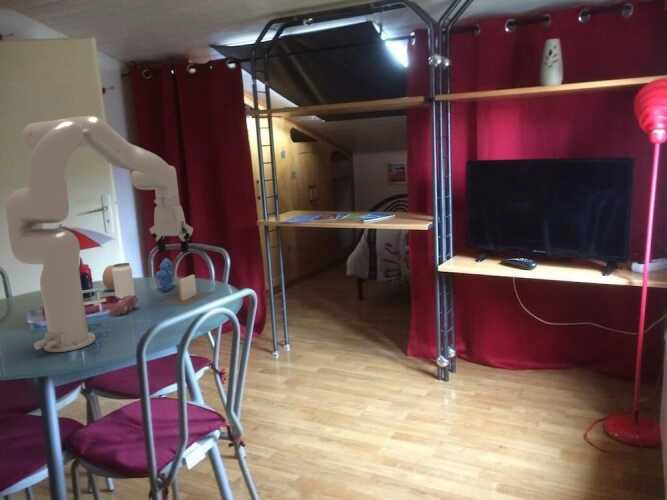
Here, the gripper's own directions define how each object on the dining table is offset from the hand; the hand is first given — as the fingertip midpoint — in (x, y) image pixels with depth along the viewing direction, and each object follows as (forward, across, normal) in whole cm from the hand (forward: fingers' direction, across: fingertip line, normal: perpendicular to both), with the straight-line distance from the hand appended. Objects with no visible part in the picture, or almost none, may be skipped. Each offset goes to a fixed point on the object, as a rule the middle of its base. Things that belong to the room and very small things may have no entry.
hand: (173, 251), depth 181 cm
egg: (+16, -32, +5) cm, 37 cm away
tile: (+16, +6, -2) cm, 17 cm away
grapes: (+16, -10, +7) cm, 21 cm away
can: (+16, -20, -3) cm, 26 cm away
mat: (+16, +6, -3) cm, 17 cm away
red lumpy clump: (+16, -6, -20) cm, 27 cm away
